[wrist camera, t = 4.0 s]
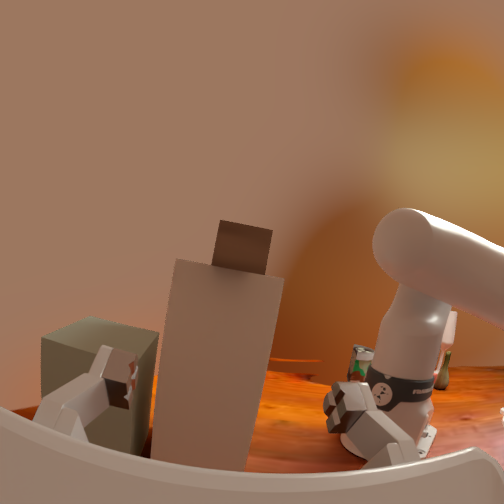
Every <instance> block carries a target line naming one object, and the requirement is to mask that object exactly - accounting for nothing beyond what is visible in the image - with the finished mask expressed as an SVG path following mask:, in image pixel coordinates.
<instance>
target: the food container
mask: <svg viewBox="0 0 504 504" xmlns="http://www.w3.org/2000/svg"><path fill="white" fill-rule="evenodd" d="M373 356H374V350H373V349H370V348H368V347H364V346H360V345H354V348H353V352H352V357H351V361H350V366H349V370H348V374H347V379H348V382H361V383H364V380H365V374H366V372H367V370H368V366H369V365H370V364H371V362H372V360H373Z"/></svg>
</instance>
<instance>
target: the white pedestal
mask: <svg viewBox="0 0 504 504" xmlns="http://www.w3.org/2000/svg"><path fill="white" fill-rule="evenodd" d="M283 284H284V278H278V277H273V276H267V275H260V274H255V273H249V272H244V271H238V270H233V269H227V268H222V267H217V266H211V265H208V264H203V263H198V262H192V261H187V260H181V259H176V261H175V267H174V272H173V278H172V284H171V290H170V295H169V301H168V308H167V314H166V320H165V327H164V335H163V341H162V349H161V356H160V364H159V372H158V380H157V389H156V399H155V409H154V419H153V431H152V444H151V458H150V459H153V460H158V461H163V462H168V463H174V464H180V465H186V466H192V467H199V468H207V469H216V470H225V471H237V472H244V469H245V464H246V460H247V456H248V452H249V448H250V443H251V439H252V435H253V430H254V426H255V421H256V417H257V412H258V408H259V403H260V399H261V394H262V390H263V385H264V380H265V375H266V371H267V365H268V361H269V356H270V351H271V346H272V341H273V336H274V331H275V326H276V320H277V316H278V310H279V305H280V300H281V295H282V289H283Z"/></svg>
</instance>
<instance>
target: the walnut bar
mask: <svg viewBox="0 0 504 504" xmlns="http://www.w3.org/2000/svg"><path fill="white" fill-rule="evenodd" d="M272 231H273V230H269V229H264V228H259V227H254V226H249V225H244V224H239V223H233V222H229V221H223V220H220V223H219V228H218V233H217V238H216V243H215V248H214V254H213V259H212V264H211V266H217V267H222V268H227V269H233V270H238V271H244V272H249V273H255V274H260V275H265V270H266V265H267V259H268V254H269V248H270V243H271V237H272Z"/></svg>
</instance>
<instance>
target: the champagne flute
mask: <svg viewBox="0 0 504 504" xmlns="http://www.w3.org/2000/svg"><path fill="white" fill-rule="evenodd" d="M456 319H457V312H454V311H450V313H449V316H448V319H447V323H446V326H445V330H444V334H443V338H442V343H441V347H440V348H441V349H442V351H441V355H440V360H439V363H438V367H437V370H436V371H434V373H437V374H438V373H439V371H440V367H441V363H442V359H443V355H444V351H445V350H446V349H448V348H449V347H451V346H452V344H453V343H454V336H455V328H456Z"/></svg>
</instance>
